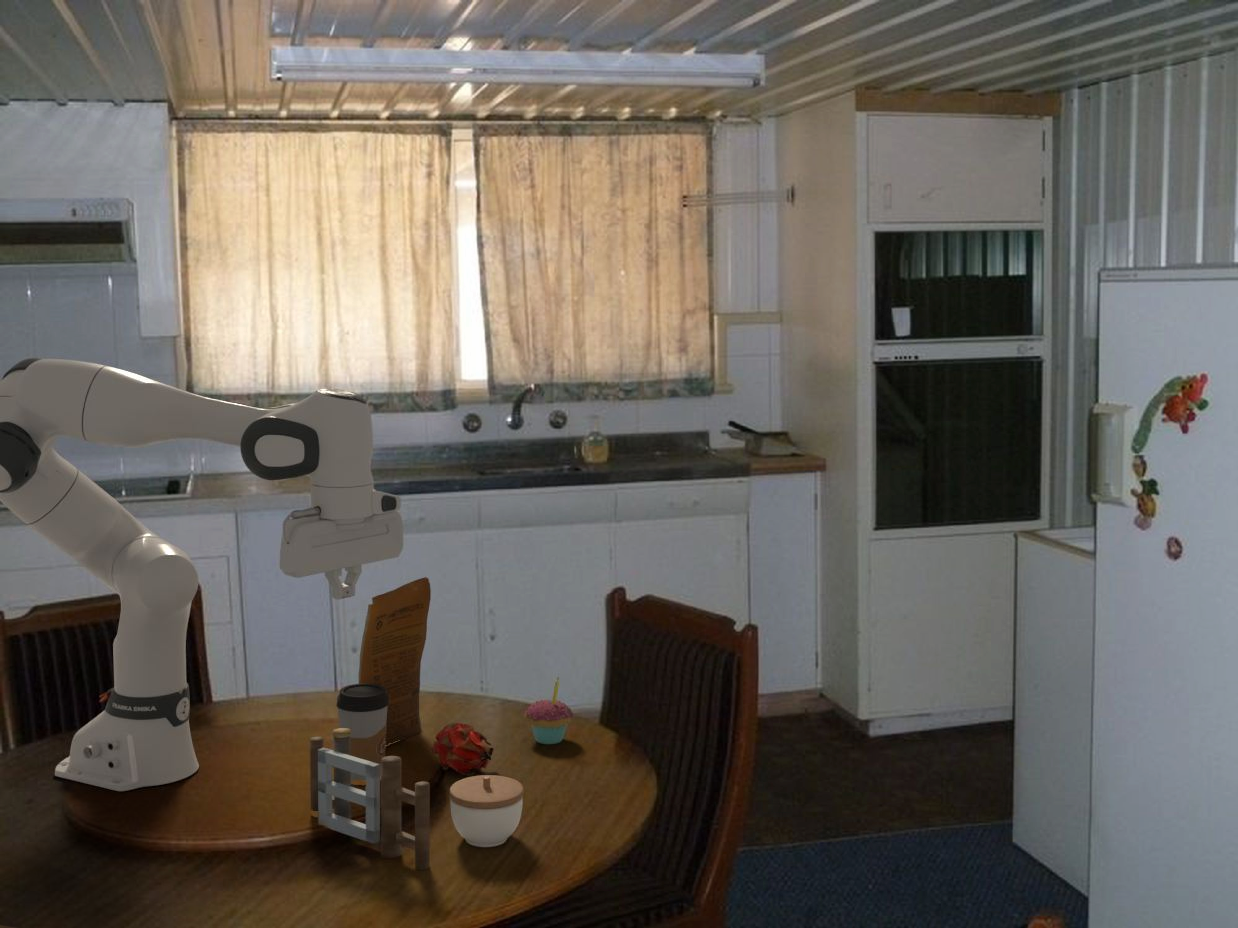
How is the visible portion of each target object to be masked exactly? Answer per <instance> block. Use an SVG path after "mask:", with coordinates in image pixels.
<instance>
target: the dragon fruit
mask: <svg viewBox="0 0 1238 928" xmlns="http://www.w3.org/2000/svg"><path fill="white" fill-rule="evenodd" d="M435 739H436V740H437V741H435V742H434V744H433V746H432V747H431V749H430V750H431V753H432V754H437V755H439V764H440V765H441V768H442V767H443V768H442V770H443V771H446V770H448V769H449V767H451V768H452V769H453V770H455V771H456V773H459V774H461V776H466V777H467V776H468V777H472V776H477V775H476V773H474V772H471V771H470V770H471V769H481V768H483V769H487V766H488V765H489V764H490V761H492V755H493V752H494V747H493V746H492V743H490V742H489V741H487V740H488V738H487V736H485V735H483V734H482V733H481V732H479V731H475V728H474V726H473V725H471V724H468V723H463V722H461V721H455V722H452V723H450V724H449V723H448V724H446V725H445V726H444V727H443V729H441V730H440V731H439V732H438V733H437V734H436V736H435ZM482 741H484V742H485V743H484V742H482ZM489 746H492V747H489Z"/></svg>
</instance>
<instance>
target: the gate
mask: <svg viewBox="0 0 1238 928" xmlns="http://www.w3.org/2000/svg"><path fill="white" fill-rule="evenodd" d="M332 766H333V767H332ZM334 767H337V768H340V769H343V770H347V771H350V772H353V773H356V774H360V775H363V776H366V786H365V790H363V789H360V788H356V787H353V786H351V787H350V786H347V785H344V784H341V783H337V782H334V780H333V777H332V776H333V774H332V773H333V772H332V771H333V769H332V768H334ZM332 796H335V797H338V798H341V799H344V800H347V801H350V802H351V803H354V804H356V805H357V804H358V805H360V806H363V807H365V823H363V822H360V821H357V820H353V819H352V818H351V819H348V818H345V817H342V816H339V815H336V814H334V812H333V809H332ZM317 820H318V825H319V824H322V825H325V826H328V827H329V828H330V829H329V828H328V829H329V830H332V831H336V832H338V833H341V834H344V835H346V836H350V837H353V838H354V839H359V840H361V841H364V842H368V843H370V844H377V843H378V842H381V825H380V824H381V780H380V764H377V763H374V762H371V761H367V760H364V759H360V758H357V757H354V756H350V755H347V754H344V753H340V752H337V751H334V749H330V748H326V747H324V748H321V749H319V750H318V818H317Z"/></svg>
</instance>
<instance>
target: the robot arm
mask: <svg viewBox="0 0 1238 928" xmlns="http://www.w3.org/2000/svg"><path fill="white" fill-rule="evenodd" d="M373 431H374V430H373V421H372V415H371V410H370V407H369V404H368V402H367V400H365V398H364V397H362V395H360V394H357V393H355V392H352V391H348V390H344V389H337V388H320V389H316V390H315V391H313V393H312V394H311V395H309V396H307V397H306V398H304V399H302V400H300V401H298V402H296V403H288V404H283V405H282V404H281V405H279V406H273V407H259V406H258V407H257V406H253V405H247V404H242V403H238V402H233V401H227V400H224V399H217V398H213V397H208V396H204V395H200V394H196V393H192V392H189V391H186V390H184V389H180V388H177V387H174V386H172V385H168V384H165V383H163V382H160V381H156V379H155V380H154V379H152V378H148V377H146V376H143V375H140V374H137V373H135V372H131V371H128V370H124V369H121V368H118V367H117V368H116V367H115V366H114V367H113V366H109V365H104V364H101V363H100V364H99V363H94V362H89V361H88V362H87V361H82V360H73V359H62V358H61V359H60V358H43V359H42V358H37V357H36V358H35V357H33V358H32V357H31V358H25V359H23V360H21V361H19V362H17V363H15V364H14V365H13V366H12V367H11V368H10V369H8V370H7V371H6V372H5V373H4V375H3V376H2V378H1V381H0V502H1V503H2V504H3V506H5V507H6V508H7V509H8V510H9V511H10V512H11V513H12V514H14V515H15V516H16V517H17V518H19V519H20V520H21V521H22V522H23V523H24V524H26V525H27V526H29V527H30V528H31V529H32V530H34V532H37V533H38V534H39V535H41V536H42V537H43V538H45V540H47V541H48V542H50V543H51V544H52V545H54V546H55V547H56V548H58V550H60V551H62V552H63V553H64V554H65V555H67V556H68V557H69V558H70V559H72V560H73V561H75V562H76V563H77V564H79V565H80V566H81V567H82V568H83V569H85V570H86V571H87V572H88V573H90V574H91V575H92V576H94V577H95V578H96V579H98V580H99V581H100V582H101V583H103V584H104V585H105V586H106V587H108V589H111V590H112V591H113V592H115V593H116V594H117V595H118V596H119V598H120V616H119V622H118V628H117V632H116V633H117V634H116V636H115V638H114V639H113V643H112V647H113V648H112V649H113V650H112V651H113V653H112V654H113V656H112V657H113V678H114V679H113V681H114V682H113V683H114V687H112V688H110V689H108V690H107V691H106V692H105V693H103V694H101V695H99V698H101V699H99V703H102V702H104V701H106V700H107V703H106V705H105V709H104V710H103V711H102V712H101V713H99V714H98V715H97V716H95V717H94V718H93V719H91V720H90V721H89V722H88V723H86V724H85V725H84V726H82V727H81V728H80V729H79V730H78V731H76V733H75V734H74V735H73V738H72V740H71V745H70V751H69V756H68V757H67V756H66V758H64V759H63V760H61V761H60V762H59V763H58V764H57V765H56V766H55V769H54V776H55V777H59V778H62V779H65V780H69V781H70V780H71V781H75V782H78V783H79V782H80V783H83V784H87V785H91V786H95V787H100V788H104V789H108V790H110V791H111V790H112V791H116V792H126V791H130V790H135V789H138V788H144V787H153V786H160V785H165V784H171V783H174V782H177V781H181V780H183V779H187V778H188V777H190V776H192V775H193V774H195V773H197V771H198V769H199V767H200V764H199V762H198V759H197V756H196V753H195V748H194V745H193V744H194V743H193V740H192V735H191V729H190V722H189V721H190V711H191V710H190V709H191V708H190V707H191V704H190V703H191V700H190V699H191V697H190V684H189V683H188V682H187V657H186V656H187V653H186V652H187V651H186V649H187V648H186V643H187V642H186V640H187V629H188V625H189V624H188V623H189V618H190V613H191V607H192V601H193V600H194V598H195V596H196V594H197V591H198V587H199V575H198V571H197V569H196V567H195V565H194V562H193V561H192V560H191V558H190V557H189V555H188V554H187V553H186V552H185V551H184V550H182V549H181V548H179V547H178V546H176V545H174V544H172V543H170V542H168V541H166V539H163V538H161V537H160V536H159V535H157V534H156V533H154V532H153V531H151V530H150V529H149V528H148V527H146V525H144V524H143V523H142V522H141V521H140V520H139V519H137V518H136V517H135V516H134V515H132V514H131V513H130V512H129V511H128V509H126V508H125V507H124V506H123V505H122V504H121V503H120V502H119V501H118V500H117V499H116V498H114V497H113V496H111V495H110V494H109V493H108V492H107V491H105V490H104V489H103V487H100V485H98V484H97V483H96V482H95V481H93V480H92V479H90V478H89V477H88V476H87V475H85V474H84V473H83V472H82V471H81V470H80V469H78V468H77V467H75V466H74V465H73V464H72V463H71V462H69V461H68V460H67V459H65V458H64V457H62V456H61V455H60V454H58V452H57V451H56V450H55V449H54V446H55V444H56V442H57V438H58V437H59V436H66V437H69V438H73V439H76V440H81V441H84V442H89V443H93V444H98V445H102V446H109V447H121V448H122V447H123V448H141V447H147V446H152V445H156V444H161V443H165V442H171V441H177V440H203V441H209V442H214V443H218V444H224V445H229V446H234V447H239V448H240V449H239V450H240V455H241V458H242V460H243V461H242V462H243V463H244V466H246V468H247V469H248V470H249V471H250V472H251V473H252V474H253V475H255V476H256V477H258V478H260V479H262V480H267V481H274V482H280V481H281V482H282V481H286V480H289V479H294V478H299V477H303V476H305V477H308V478H309V479H310V481H309V482H310V507H307V508H305V509H296V510H292V511H291V512H290V514H288V515H287V516H286V517H285V518H284V520H283V522H282V535H281V541H280V548H279V549H280V552H279V569H280V570H281V572H282V573H283V575H285V576H288V577H293V578H296V579H298V578H299V579H300V578H304V577H309V576H314V575H318V574H323V573H324V577H325V579H326V580H327V581H328V583H329V585H330V587H331V597H332V598H333V599H335V600H342V599H346V598H350V597H351V598H352V597H355V596H356V584H357V583H358V581H359V578H360V576H361V574H362V571H363V570H362V568H363V567H362V566H363V565H366V564H371V563H377V562H381V561H385V560H391V559H395V558H399V557H400V555H401V553H402V552H403V549H404V526H403V519H402V515H401V513H399V511H400V510H401V508H402V498H401V497H400V496H399V495H395V494H392V493H387V492H385V491H384V492H383V491H380V490H379V489H374V488H375V487H374V477H373V473H372V468H371V466H372V465H371V464H372V463H371V461H372V458H373V454H374V433H373ZM343 569H344V571H346V572H347V573H346V576H345V578H344V582H343V583H342V581H341V579H340V577H342V576H343V575H342V573H343Z"/></svg>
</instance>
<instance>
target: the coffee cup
mask: <svg viewBox="0 0 1238 928" xmlns="http://www.w3.org/2000/svg"><path fill="white" fill-rule="evenodd" d="M336 700H337V701H336V707H337V712H338V713H337V714H338V728H348V729H350V730H351V735H350V756H354V757H357V758H360V759H364V760H367V761H371V762H374V763H377V764H380V775H381V759H382V758H384V757H386V747H385V745H386V730H387V725H386V721H387V706H388V704H389V701H388V694H387V693H386V690H385V688H384V687H383V686H381V685H377V684H368V683H363V684H359V683H353V684H350V685H346V686H343V687H341V688H340V689H339V694H338V695H337V698H336ZM351 780H357V781H358V780H366V776H363V775H360V774H356V773H353V772H351Z"/></svg>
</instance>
